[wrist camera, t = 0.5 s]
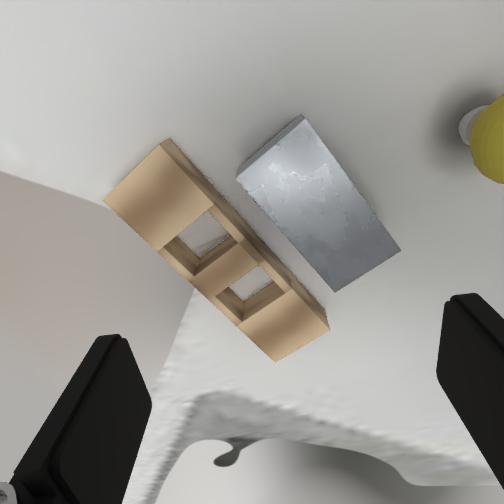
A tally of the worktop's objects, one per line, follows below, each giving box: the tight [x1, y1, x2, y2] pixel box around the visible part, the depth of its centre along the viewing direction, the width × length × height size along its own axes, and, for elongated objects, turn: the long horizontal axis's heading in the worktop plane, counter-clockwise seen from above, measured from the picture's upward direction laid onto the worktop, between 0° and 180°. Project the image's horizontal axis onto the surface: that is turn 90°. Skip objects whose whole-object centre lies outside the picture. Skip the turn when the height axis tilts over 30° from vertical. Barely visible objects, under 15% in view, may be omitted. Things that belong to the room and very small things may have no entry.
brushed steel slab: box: [236, 114, 401, 292], centre depth 29 cm, size 13×6×6 cm, turn 40°
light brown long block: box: [103, 138, 330, 362], centre depth 34 cm, size 24×7×4 cm, turn 40°
